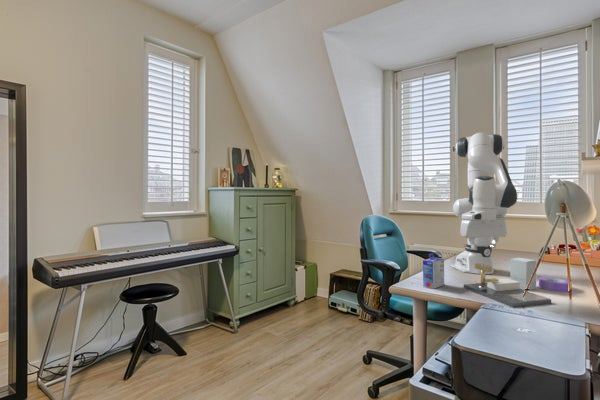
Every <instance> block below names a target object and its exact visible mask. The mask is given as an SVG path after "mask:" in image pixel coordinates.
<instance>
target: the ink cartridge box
mask: <svg viewBox="0 0 600 400" xmlns="http://www.w3.org/2000/svg"><path fill="white" fill-rule="evenodd" d="M422 276H423V277H422V282H423V285H422V286H423V287H424V288H427V289H433V290H434V289H438V288H439V287H442V286H445V259H444V258H441V257H440V258H439V257H435V254H434V253H432V252H431V253H429V254H428V258H427V259H424V260H422Z"/></svg>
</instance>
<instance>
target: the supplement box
mask: <svg viewBox="0 0 600 400" xmlns="http://www.w3.org/2000/svg"><path fill="white" fill-rule="evenodd" d="M535 266H536V267H537V260H535V259H531V258H530V259H529V258H524V257H513V258H511V259H510V270H509V272H510V273H509V275H510V278H509V279H511V280H515V281H518V282H520V289H522V290H524V291H526V290H525V288H526V286H527V284H528V282H529V280H530V278H531V275H532V274H533V271H534V269H535ZM536 289H537V272H536V273H535V275H534V277H533V280H532V282H531V284H530V287H529V290H528V291H531V290H536Z"/></svg>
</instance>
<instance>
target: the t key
mask: <svg viewBox="0 0 600 400" xmlns="http://www.w3.org/2000/svg"><path fill="white" fill-rule="evenodd" d="M475 268H476V269H479V270H481V274H480V283H481V286H485V283H487V282H498V281H499V280H498V278H486V274H485V271H486V272H492V267H490V266H487V265H483V264H480V263H475Z"/></svg>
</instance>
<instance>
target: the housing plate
mask: <svg viewBox="0 0 600 400" xmlns="http://www.w3.org/2000/svg"><path fill="white" fill-rule="evenodd" d="M463 289H465V290H467V291H470V292H473V293H476V294H478V295H481V296H483V297H486V298H488V299H491V300H492V301H496V302H497V303H498V302H499V303H500V304H502V305H505V306H509V307H511V308H521V307H530V306H539V305H540V306H541V305H551V304H552V299H551V298H549V297H546V296H543V295H540V294H537V293H535V292H530V291H527V293H526V295H525V296H524V297H523V293H524V291H525V290H523V289H517V290H505V291H497V290H494V289H491V288H488V287H487V282H486V283H485V286H481V282H478V283H477V282H475V283H467V284H465V283H464V284H463Z"/></svg>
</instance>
